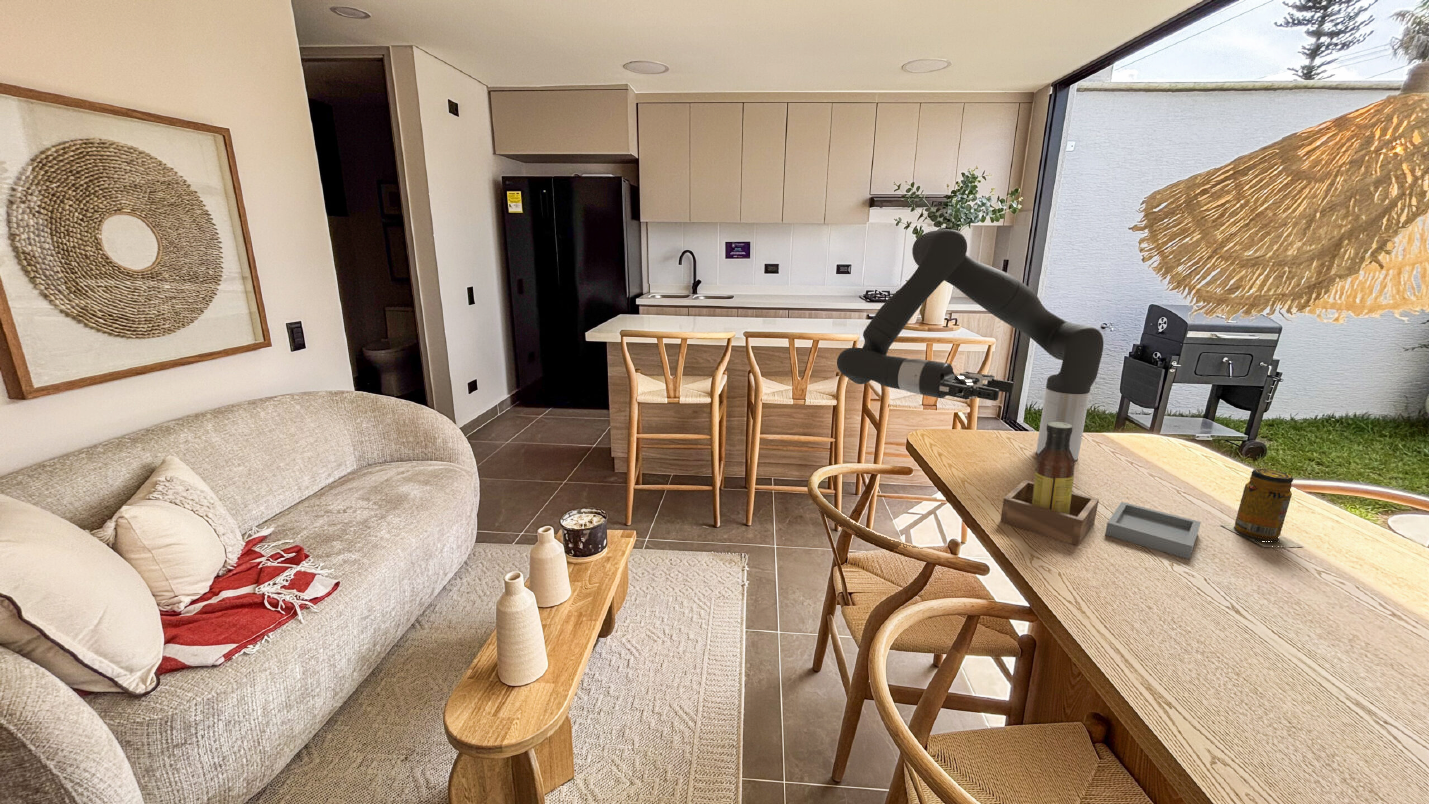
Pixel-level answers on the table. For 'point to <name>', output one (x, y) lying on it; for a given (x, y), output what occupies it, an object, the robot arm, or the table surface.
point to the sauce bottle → (1055, 470)
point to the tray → (1154, 529)
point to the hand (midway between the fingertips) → (1006, 391)
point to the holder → (1049, 515)
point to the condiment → (1264, 508)
